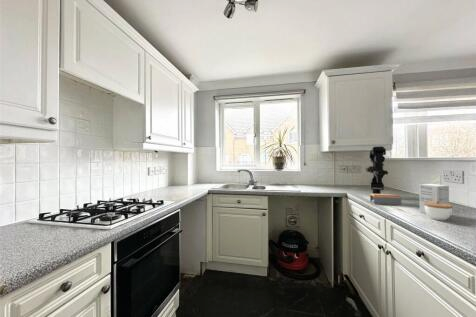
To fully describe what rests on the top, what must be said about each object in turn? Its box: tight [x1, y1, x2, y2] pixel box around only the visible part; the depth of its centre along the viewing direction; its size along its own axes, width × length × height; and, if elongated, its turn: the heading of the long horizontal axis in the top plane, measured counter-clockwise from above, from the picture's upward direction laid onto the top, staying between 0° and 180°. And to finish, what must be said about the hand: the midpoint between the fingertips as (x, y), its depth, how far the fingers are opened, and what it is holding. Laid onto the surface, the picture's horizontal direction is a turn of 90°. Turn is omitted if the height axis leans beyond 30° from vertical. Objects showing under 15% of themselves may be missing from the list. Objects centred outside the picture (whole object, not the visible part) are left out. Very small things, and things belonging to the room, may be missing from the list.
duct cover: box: [369, 193, 402, 199], centre depth 144 cm, size 8×16×1 cm, turn 73°
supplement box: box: [418, 183, 450, 215], centre depth 117 cm, size 10×9×17 cm
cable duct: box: [369, 194, 402, 206], centre depth 145 cm, size 9×16×5 cm, turn 73°
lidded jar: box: [424, 201, 453, 221], centre depth 108 cm, size 11×11×9 cm
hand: (378, 183), depth 156 cm, fingers closed
